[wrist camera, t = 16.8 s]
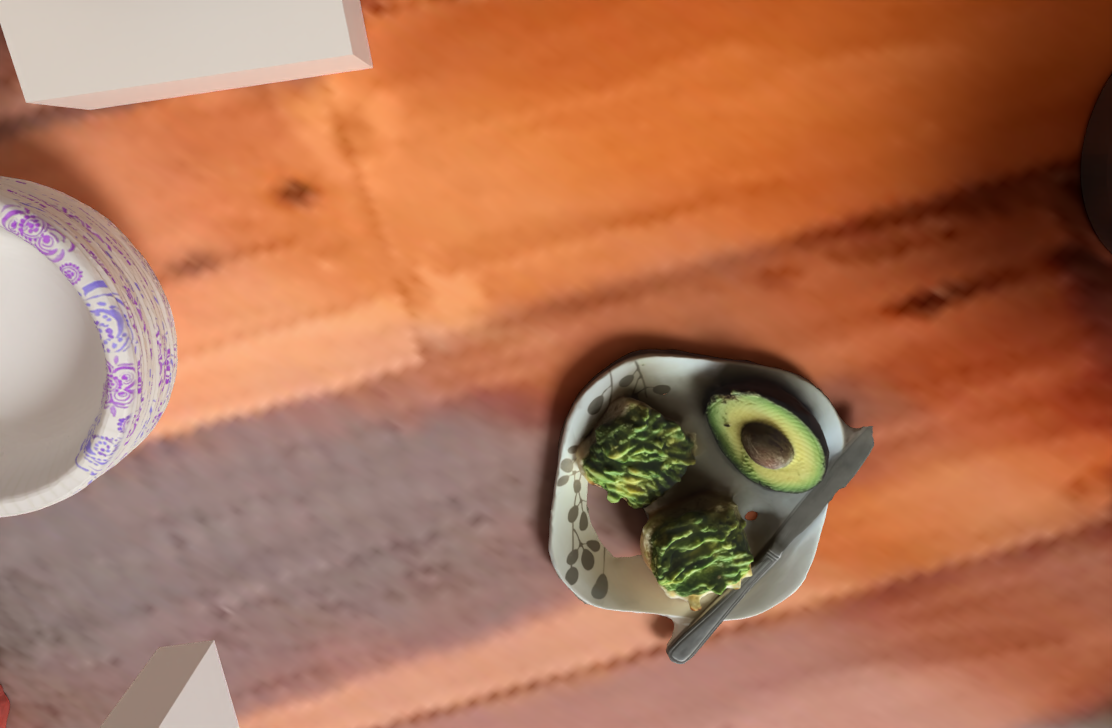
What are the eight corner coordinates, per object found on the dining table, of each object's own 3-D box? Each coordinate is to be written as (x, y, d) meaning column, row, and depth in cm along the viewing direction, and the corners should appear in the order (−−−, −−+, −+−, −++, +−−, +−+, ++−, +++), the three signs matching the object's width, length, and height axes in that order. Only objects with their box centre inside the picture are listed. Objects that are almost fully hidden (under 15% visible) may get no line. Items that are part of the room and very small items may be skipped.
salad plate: (791, 658, 48) (819, 710, 44) (520, 627, 46) (522, 677, 42) (876, 378, 43) (919, 403, 39) (577, 329, 41) (586, 350, 37)
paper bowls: (-165, 252, 37) (-339, 277, 30) (96, 121, 36) (-12, 111, 29) (20, 498, 41) (-90, 576, 34) (259, 385, 40) (202, 438, 33)
